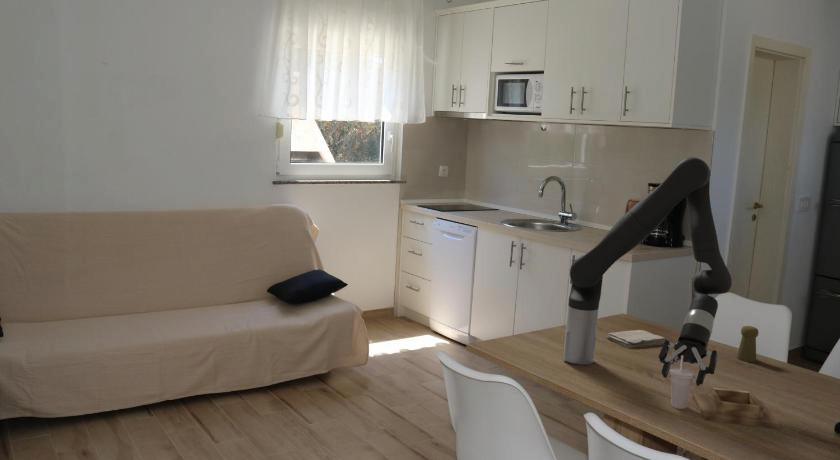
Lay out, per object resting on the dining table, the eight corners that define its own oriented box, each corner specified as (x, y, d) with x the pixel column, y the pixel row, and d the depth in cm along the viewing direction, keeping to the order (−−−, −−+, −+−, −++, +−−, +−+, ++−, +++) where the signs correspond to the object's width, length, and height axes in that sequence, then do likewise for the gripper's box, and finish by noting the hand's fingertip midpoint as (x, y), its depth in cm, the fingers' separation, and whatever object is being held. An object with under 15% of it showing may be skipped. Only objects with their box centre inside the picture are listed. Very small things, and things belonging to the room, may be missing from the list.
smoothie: (662, 401, 197) (667, 351, 195) (684, 401, 198) (690, 352, 195) (672, 410, 191) (678, 359, 189) (695, 411, 191) (701, 360, 189)
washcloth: (604, 340, 253) (604, 331, 252) (642, 335, 261) (643, 327, 260) (628, 350, 242) (629, 341, 242) (667, 345, 251) (668, 336, 250)
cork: (758, 363, 235) (762, 330, 233) (738, 360, 236) (742, 328, 234) (753, 357, 241) (757, 325, 239) (734, 355, 242) (738, 323, 240)
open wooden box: (704, 420, 186) (706, 404, 185) (692, 397, 201) (693, 382, 201) (779, 428, 183) (781, 412, 182) (760, 404, 198) (762, 390, 198)
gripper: (668, 317, 201) (652, 367, 193) (722, 327, 193) (707, 380, 186) (672, 331, 206) (656, 380, 199) (725, 342, 198) (710, 394, 191)
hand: (681, 380), depth 192 cm, fingers open, 8 cm apart
